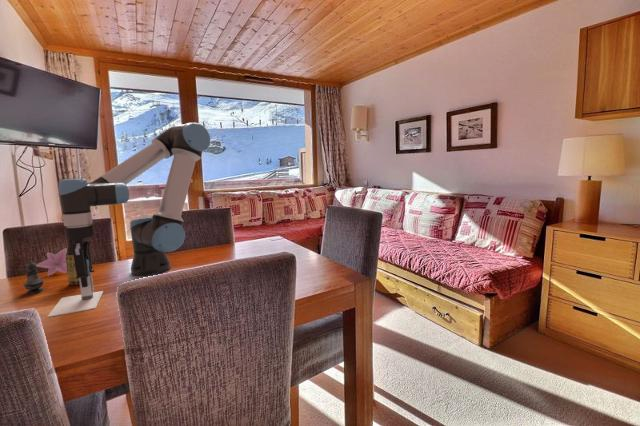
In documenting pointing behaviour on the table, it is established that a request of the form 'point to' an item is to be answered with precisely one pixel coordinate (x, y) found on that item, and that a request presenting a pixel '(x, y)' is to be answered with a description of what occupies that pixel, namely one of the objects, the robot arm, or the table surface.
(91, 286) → the marker
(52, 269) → the lily
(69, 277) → the sauce bottle
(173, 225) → the robot arm
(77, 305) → the paper
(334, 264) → the table surface
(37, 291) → the dark grey chess piece
